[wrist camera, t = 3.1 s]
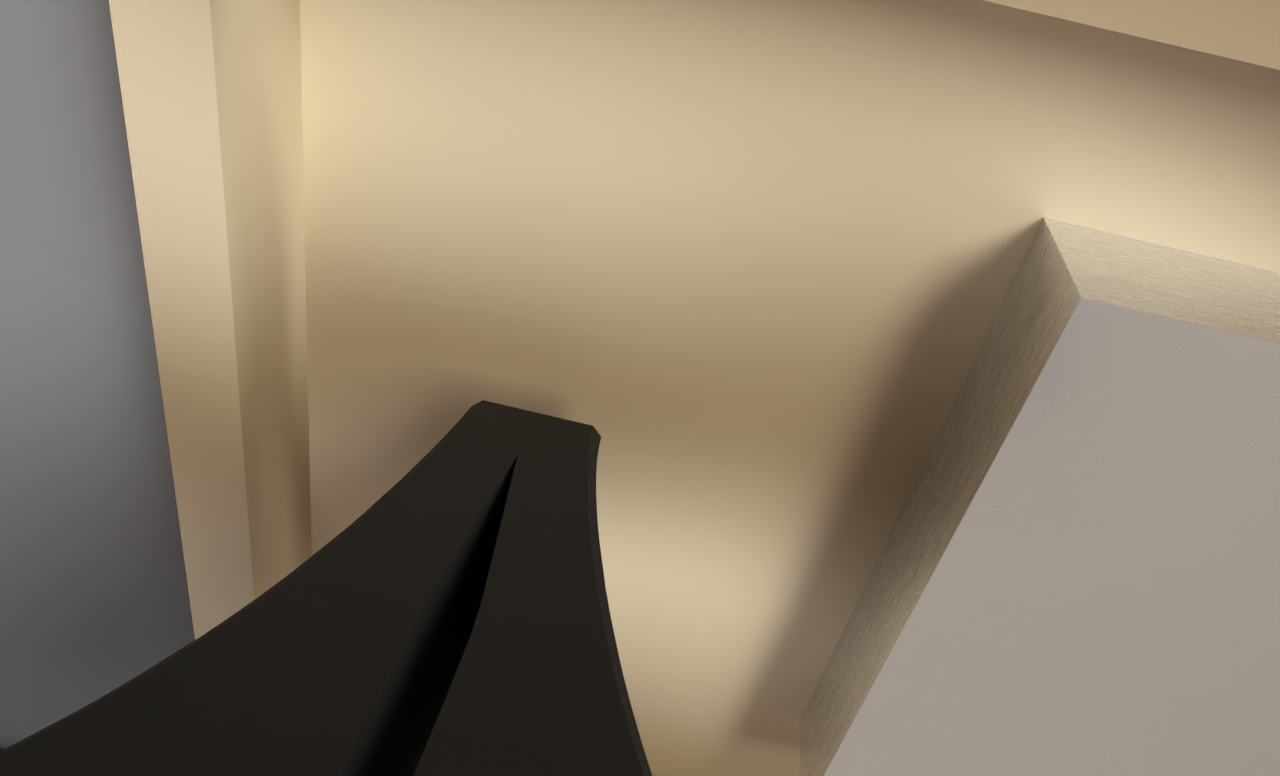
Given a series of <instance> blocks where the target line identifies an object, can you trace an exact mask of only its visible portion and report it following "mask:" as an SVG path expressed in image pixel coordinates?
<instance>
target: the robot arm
mask: <svg viewBox="0 0 1280 776" xmlns="http://www.w3.org/2000/svg"><path fill="white" fill-rule="evenodd" d="M600 441H601V436H600V434H599V433H598V432H597V430H596V429H595V427H594V426H592V425H588V424H584V423H579V422H575V421H571V420H566V419H562V418H558V417H553V416H549V415H545V414H540V413H536V412H532V411H528V410H523V409H519V408H515V407H510V406H506V405H502V404H497V403H493V402H489V401H484V400H482V401H480V402H478V403H476V404H474V405H473V406H471V407H470V408H469V410H468V411H467V412H466V413H465V414H464V415H463V417H462V418H461V419H460V420H459V421H458V422H457V423H456V424H455V425H454V427H453V428H452V429H451V430H450V431H449V432H448V433H447V434H446V435H445V436H444V437H443V438H442V439H441V440H440V441H439V442H438V444H437V445H436V446H435V447H434V448H433V449H432V450H431V451H430V452H429V453H428V454H427V455H426V456H425V457H424V458H423V459H422V460H421V461H419V462H418V463H417V464H416V465H415V466H414V467H413V468H412V469H411V470H410V471H409V472H408V473H407V474H406V475H405V476H404V477H403V478H402V479H401V480H400V481H399V482H397V483H396V484H395V485H394V486H393V487H392V488H391V489H390V490H389V491H388V492H386V493H385V494H384V495H383V496H382V497H381V498H380V499H379V500H378V501H377V502H375V503H374V504H373V505H372V506H371V507H370V508H369V509H368V510H367V511H366V512H364V513H363V514H362V515H361V516H360V517H359V518H358V519H356V520H355V521H354V522H353V523H352V524H351V525H349V526H348V527H347V528H346V529H345V530H343V531H342V532H341V533H340V534H338V535H337V536H336V537H335V538H333V539H332V540H331V541H330V542H329V543H327V544H326V545H325V546H324V547H322V548H321V549H320V550H319V551H317V552H316V553H315V554H314V555H312V556H311V557H310V558H309V559H307V560H306V561H305V562H304V563H302V564H301V565H300V566H299V567H298V568H296V569H295V570H294V571H293V572H291V573H290V574H289V575H287V576H286V577H285V578H283V579H282V580H281V581H279V582H278V583H277V584H275V585H274V586H273V587H271V588H270V589H268V590H267V591H266V592H264V593H263V594H262V595H260V596H259V597H258V598H256V599H255V600H253V601H252V602H251V603H249V604H248V605H246V606H245V607H244V608H242V609H241V610H239V611H238V612H236V613H235V614H233V615H232V616H230V617H229V618H227V619H226V620H225V621H223V622H222V623H220V624H219V625H217V626H216V627H214V628H213V629H211V630H210V631H208V632H207V633H205V634H204V635H202V636H201V637H199V638H198V639H196V640H195V641H193V642H192V643H190V644H188V645H187V646H185V647H184V648H182V649H180V650H179V651H177V652H175V653H174V654H172V655H171V656H169V657H167V658H166V659H164V660H163V661H161V662H159V663H158V664H156V665H155V666H153V667H151V668H150V669H148V670H147V671H145V672H143V673H142V674H140V675H138V676H137V677H135V678H134V679H132V680H130V681H129V682H127V683H125V684H124V685H122V686H120V687H118V688H117V689H115V690H113V691H112V692H110V693H108V694H107V695H105V696H103V697H101V698H100V699H98V700H96V701H94V702H93V703H91V704H89V705H87V706H86V707H84V708H82V709H80V710H78V711H77V712H75V713H73V714H71V715H69V716H67V717H65V718H63V719H61V720H59V721H58V722H56V723H54V724H52V725H50V726H48V727H46V728H44V729H42V730H40V731H39V732H37V733H35V734H33V735H31V736H29V737H27V738H25V739H23V740H22V741H20V742H18V743H16V744H14V745H12V746H10V747H8V748H6V749H4V750H3V751H1V752H0V776H652V773H651V770H650V767H649V764H648V761H647V757H646V754H645V751H644V748H643V745H642V742H641V738H640V735H639V731H638V728H637V724H636V721H635V717H634V714H633V710H632V707H631V703H630V699H629V695H628V691H627V688H626V684H625V680H624V675H623V671H622V667H621V663H620V659H619V654H618V649H617V645H616V640H615V635H614V630H613V625H612V620H611V616H610V610H609V604H608V598H607V593H606V587H605V579H604V572H603V564H602V557H601V549H600V542H599V531H598V520H597V499H596V470H597V457H598V450H599V445H600Z"/></svg>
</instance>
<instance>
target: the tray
mask: <svg viewBox="0 0 1280 776" xmlns="http://www.w3.org/2000/svg"><path fill="white" fill-rule="evenodd" d="M109 5H110V13H111V20H112V28H113V35H114V43H115V50H116V57H117V65H118V72H119V80H120V87H121V95H122V102H123V109H124V117H125V124H126V132H127V139H128V146H129V154H130V161H131V169H132V176H133V184H134V191H135V198H136V206H137V213H138V221H139V228H140V235H141V243H142V250H143V258H144V265H145V273H146V280H147V287H148V295H149V302H150V310H151V317H152V324H153V332H154V339H155V347H156V354H157V362H158V369H159V376H160V384H161V391H162V399H163V406H164V414H165V421H166V428H167V436H168V443H169V451H170V458H171V465H172V473H173V480H174V488H175V495H176V503H177V510H178V517H179V525H180V532H181V540H182V547H183V554H184V562H185V569H186V577H187V584H188V592H189V599H190V606H191V614H192V621H193V629H194V636H195V640H196V639H198V638H199V637H201V636H202V635H204V634H205V633H207V632H208V631H210V630H211V629H213V628H214V627H216V626H217V625H219V624H220V623H222V622H223V621H225V620H226V619H227V618H229V617H230V616H232V615H233V614H235V613H236V612H238V611H239V610H241V609H242V608H244V607H245V606H246V605H248V604H249V603H251V602H252V601H253V600H255V599H256V598H258V597H259V596H260V595H262V594H263V593H264V592H266V591H267V590H268V589H270V588H271V587H273V586H274V585H275V584H277V583H278V582H279V581H281V580H282V579H283V578H285V577H286V576H287V575H289V574H290V573H291V572H293V571H294V570H295V569H296V568H298V567H299V566H300V565H301V564H302V563H304V562H305V561H306V560H307V559H309V558H310V557H311V556H312V555H314V554H315V553H316V552H317V551H319V550H320V549H321V548H322V547H324V546H325V545H326V544H327V543H329V542H330V541H331V540H332V539H333V538H335V537H336V536H337V535H338V534H340V533H341V532H342V531H343V530H345V529H346V528H347V527H348V526H349V525H351V524H352V523H353V522H354V521H355V520H356V519H358V518H359V517H360V516H361V515H362V514H363V513H364V512H366V511H367V510H368V509H369V508H370V507H371V506H372V505H373V504H374V503H375V502H377V501H378V500H379V499H380V498H381V497H382V496H383V495H384V494H385V493H386V492H388V491H389V490H390V489H391V488H392V487H393V486H394V485H395V484H396V483H397V482H399V481H400V480H401V479H402V478H403V477H404V476H405V475H406V474H407V473H408V472H409V471H410V470H411V469H412V468H413V467H414V466H415V465H416V464H417V463H418V462H419V461H421V460H422V459H423V458H424V457H425V456H426V455H427V454H428V453H429V452H430V451H431V450H432V449H433V448H434V447H435V446H436V445H437V444H438V442H439V441H440V440H441V439H442V438H443V437H444V436H445V435H446V434H447V433H448V432H449V431H450V430H451V429H452V428H453V427H454V425H455V424H456V423H457V422H458V421H459V420H460V419H461V418H462V417H463V415H464V414H465V413H466V412H467V411H468V410H469V408H470V407H471V406H473V405H474V404H476V403H478V402H480V401H482V400H484V401H489V402H493V403H497V404H502V405H506V406H510V407H515V408H519V409H523V410H528V411H532V412H536V413H540V414H545V415H549V416H553V417H558V418H562V419H566V420H571V421H575V422H579V423H584V424H588V425H592V426H594V427H595V429H596V430H597V432H598V433H599V434H600V436H601V441H600V445H599V450H598V457H597V470H596V499H597V520H598V531H599V542H600V549H601V557H602V564H603V572H604V579H605V587H606V593H607V598H608V604H609V610H610V616H611V620H612V625H613V630H614V635H615V640H616V645H617V649H618V654H619V659H620V663H621V667H622V671H623V675H624V680H625V684H626V688H627V691H628V695H629V699H630V703H631V707H632V710H633V714H634V717H635V721H636V724H637V728H638V731H639V735H640V738H641V742H642V745H643V748H644V751H645V754H646V757H647V761H648V764H649V767H650V770H651V773H652V776H801V762H800V720H801V718H802V716H803V714H804V712H805V709H806V707H807V705H808V703H809V701H810V699H811V697H812V695H813V693H814V691H815V689H816V687H817V685H818V683H819V681H820V678H821V676H822V674H823V672H824V670H825V668H826V666H827V664H828V662H829V660H830V658H831V656H832V654H833V652H834V650H835V647H836V645H837V643H838V641H839V639H840V637H841V635H842V633H843V631H844V629H845V627H846V625H847V623H848V621H849V619H850V616H851V614H852V612H853V610H854V608H855V606H856V604H857V602H858V600H859V598H860V596H861V594H862V592H863V590H864V588H865V585H866V583H867V581H868V579H869V577H870V575H871V573H872V571H873V569H874V567H875V565H876V563H877V561H878V559H879V557H880V554H881V552H882V550H883V548H884V546H885V544H886V542H887V540H888V538H889V536H890V534H891V532H892V530H893V528H894V526H895V523H896V521H897V519H898V517H899V515H900V513H901V511H902V509H903V507H904V505H905V503H906V501H907V499H908V497H909V495H910V492H911V490H912V488H913V486H914V484H915V482H916V480H917V478H918V476H919V474H920V472H921V470H922V468H923V466H924V464H925V461H926V459H927V457H928V455H929V453H930V451H931V449H932V447H933V445H934V443H935V441H936V439H937V437H938V435H939V433H940V430H941V428H942V426H943V424H944V422H945V420H946V418H947V416H948V414H949V412H950V410H951V408H952V406H953V404H954V402H955V399H956V397H957V395H958V393H959V391H960V389H961V387H962V385H963V383H964V381H965V379H966V377H967V375H968V373H969V371H970V368H971V366H972V364H973V362H974V360H975V358H976V356H977V354H978V352H979V350H980V348H981V346H982V344H983V342H984V340H985V337H986V335H987V333H988V331H989V329H990V327H991V325H992V323H993V321H994V319H995V317H996V315H997V313H998V311H999V309H1000V306H1001V304H1002V302H1003V300H1004V298H1005V296H1006V294H1007V292H1008V290H1009V288H1010V286H1011V284H1012V282H1013V280H1014V278H1015V275H1016V273H1017V271H1018V269H1019V267H1020V265H1021V263H1022V261H1023V259H1024V257H1025V255H1026V253H1027V251H1028V249H1029V247H1030V244H1031V242H1032V240H1033V238H1034V236H1035V234H1036V232H1037V230H1038V228H1039V226H1040V224H1041V222H1042V220H1043V218H1048V219H1052V220H1057V221H1061V222H1065V223H1069V224H1074V225H1078V226H1082V227H1086V228H1091V229H1095V230H1099V231H1103V232H1108V233H1112V234H1116V235H1120V236H1125V237H1129V238H1133V239H1137V240H1142V241H1146V242H1150V243H1155V244H1159V245H1163V246H1167V247H1172V248H1176V249H1180V250H1184V251H1189V252H1193V253H1197V254H1201V255H1206V256H1210V257H1214V258H1218V259H1223V260H1227V261H1231V262H1235V263H1240V264H1244V265H1248V266H1252V267H1257V268H1261V269H1265V270H1270V271H1274V272H1278V273H1280V0H109Z"/></svg>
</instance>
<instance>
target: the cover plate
mask: <svg viewBox="0 0 1280 776" xmlns="http://www.w3.org/2000/svg"><path fill="white" fill-rule="evenodd" d="M800 762H801V776H1280V273H1278V272H1274V271H1270V270H1265V269H1261V268H1257V267H1252V266H1248V265H1244V264H1240V263H1235V262H1231V261H1227V260H1223V259H1218V258H1214V257H1210V256H1206V255H1201V254H1197V253H1193V252H1189V251H1184V250H1180V249H1176V248H1172V247H1167V246H1163V245H1159V244H1155V243H1150V242H1146V241H1142V240H1137V239H1133V238H1129V237H1125V236H1120V235H1116V234H1112V233H1108V232H1103V231H1099V230H1095V229H1091V228H1086V227H1082V226H1078V225H1074V224H1069V223H1065V222H1061V221H1057V220H1052V219H1048V218H1043V220H1042V222H1041V224H1040V226H1039V228H1038V230H1037V232H1036V234H1035V236H1034V238H1033V240H1032V242H1031V244H1030V247H1029V249H1028V251H1027V253H1026V255H1025V257H1024V259H1023V261H1022V263H1021V265H1020V267H1019V269H1018V271H1017V273H1016V275H1015V278H1014V280H1013V282H1012V284H1011V286H1010V288H1009V290H1008V292H1007V294H1006V296H1005V298H1004V300H1003V302H1002V304H1001V306H1000V309H999V311H998V313H997V315H996V317H995V319H994V321H993V323H992V325H991V327H990V329H989V331H988V333H987V335H986V337H985V340H984V342H983V344H982V346H981V348H980V350H979V352H978V354H977V356H976V358H975V360H974V362H973V364H972V366H971V368H970V371H969V373H968V375H967V377H966V379H965V381H964V383H963V385H962V387H961V389H960V391H959V393H958V395H957V397H956V399H955V402H954V404H953V406H952V408H951V410H950V412H949V414H948V416H947V418H946V420H945V422H944V424H943V426H942V428H941V430H940V433H939V435H938V437H937V439H936V441H935V443H934V445H933V447H932V449H931V451H930V453H929V455H928V457H927V459H926V461H925V464H924V466H923V468H922V470H921V472H920V474H919V476H918V478H917V480H916V482H915V484H914V486H913V488H912V490H911V492H910V495H909V497H908V499H907V501H906V503H905V505H904V507H903V509H902V511H901V513H900V515H899V517H898V519H897V521H896V523H895V526H894V528H893V530H892V532H891V534H890V536H889V538H888V540H887V542H886V544H885V546H884V548H883V550H882V552H881V554H880V557H879V559H878V561H877V563H876V565H875V567H874V569H873V571H872V573H871V575H870V577H869V579H868V581H867V583H866V585H865V588H864V590H863V592H862V594H861V596H860V598H859V600H858V602H857V604H856V606H855V608H854V610H853V612H852V614H851V616H850V619H849V621H848V623H847V625H846V627H845V629H844V631H843V633H842V635H841V637H840V639H839V641H838V643H837V645H836V647H835V650H834V652H833V654H832V656H831V658H830V660H829V662H828V664H827V666H826V668H825V670H824V672H823V674H822V676H821V678H820V681H819V683H818V685H817V687H816V689H815V691H814V693H813V695H812V697H811V699H810V701H809V703H808V705H807V707H806V709H805V712H804V714H803V716H802V718H801V720H800Z"/></svg>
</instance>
